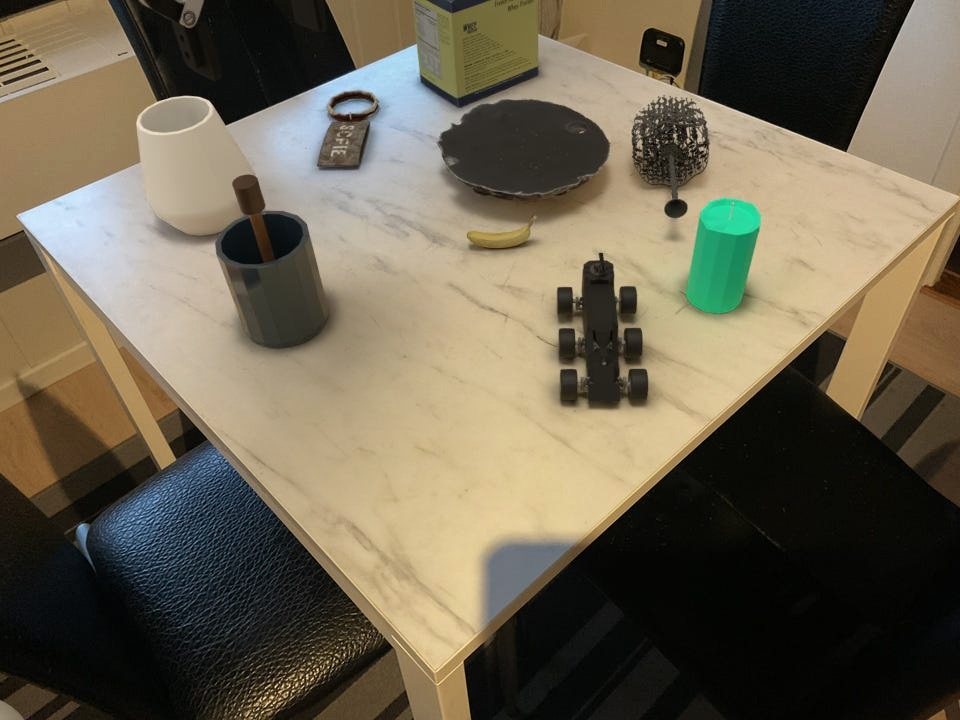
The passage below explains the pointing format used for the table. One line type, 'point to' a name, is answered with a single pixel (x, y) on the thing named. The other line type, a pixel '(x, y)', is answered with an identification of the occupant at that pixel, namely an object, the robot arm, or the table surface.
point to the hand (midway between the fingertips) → (261, 50)
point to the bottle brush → (254, 211)
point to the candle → (722, 254)
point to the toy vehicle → (600, 337)
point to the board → (524, 149)
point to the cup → (190, 165)
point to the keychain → (346, 131)
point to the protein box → (475, 46)
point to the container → (274, 280)
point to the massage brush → (670, 147)
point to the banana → (501, 237)
